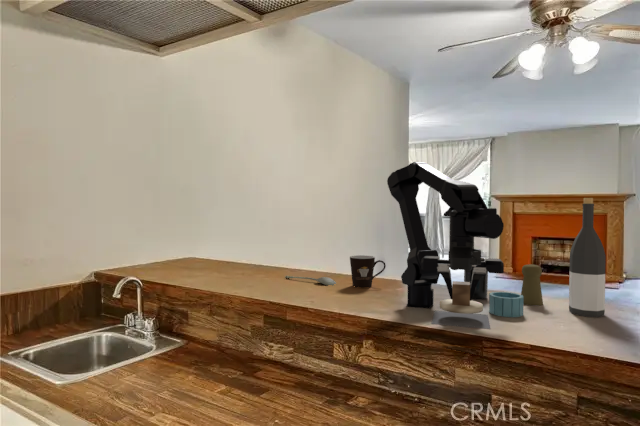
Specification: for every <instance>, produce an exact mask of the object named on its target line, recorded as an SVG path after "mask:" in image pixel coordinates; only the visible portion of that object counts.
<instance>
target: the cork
mask: <svg viewBox="0 0 640 426" xmlns="http://www.w3.org/2000/svg"><path fill="white" fill-rule="evenodd" d="M521 274H522V275H523V280H522V286H521V292H520V295H523V297H524V304H523V305H526V306H533V305H539V306H543V305H544V303H543V302H544V301H543V300H544V299H543V293H542V285H541V276H542V275H543V270H542V267H541V266H539V265H537V264H533V263H532V264H531V263H529V264H524V265H523V266H522V268H521Z"/></svg>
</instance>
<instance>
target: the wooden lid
mask: <svg viewBox="0 0 640 426" xmlns="http://www.w3.org/2000/svg"><path fill="white" fill-rule="evenodd" d="M483 306H484V305H483V303H481V302H479V301H476V300H473V299H472V300H471V301H470V282H464V281H458V280H457V281H455V280H453V281H452V299H451V298H446V299H442V300H439V309H441V311H446V312H453V313H463V314H480V313H482V312H483V311H484V307H483Z"/></svg>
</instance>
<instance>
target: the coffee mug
mask: <svg viewBox="0 0 640 426" xmlns="http://www.w3.org/2000/svg"><path fill="white" fill-rule="evenodd" d="M375 260H376V256H373V255H364V254H363V255H359V254H358V255H351V256H349V262H350V264H349V265H350V272H351V281H352V287H353V286H355V287H354V288H357V287H369V288H372V284H373V279H374V278H376V277H377V276H379V275H380V274H382V273H383V272H384V270H385V269H386V262H385V261H383V260H380V259H379V260H378V259H377V260H376V261H375ZM378 263H382V264H383V268H382V269H381V270H380V271H379V272H377V273H376V274H375V275H374V268H375V266H376V265H377V264H378Z"/></svg>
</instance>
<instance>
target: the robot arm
mask: <svg viewBox="0 0 640 426" xmlns="http://www.w3.org/2000/svg"><path fill="white" fill-rule="evenodd" d="M386 182H387V188H388V189H389V192H390V195H391V196H392V197H393V199H395V200H396V202H397V203H398V205H399V208H400V209H399V210H400V213H401V218H402V223H403V227H404V230H405V234H406V238H407V243H408V247H409V252H408V256H407V259H406V264H407V267H406V269H405V270H404V271H403V273H402V274H401V276H400V277H401V278H400V279H401V283H402V284H403V285H407V303H406V307H408V308H420V309H432V306H434V304H435V303H434V302H435V301H434V300H435V299H434V298H435V296H434V295H435V294H434V293H435V292H434V291H435V290H434V288H432V287H433V285H437V284H438V282H439V277H440V275H441V276H442V279H443V280H444V283H445V286H446V288H447V291H448V294H449V299H452V284H453V281H452V274H451V270H452V271H458V270H461V271H464V270H466V271H470V270H472V269H474V270H473V274H472V281H471V288H470V301H471V300H472V301H473V299H472V297H473V295H474V292H475V289H476V286H477V284H478V282H479V280H480V278H481V277H482V276H486V271H488V274H504V273H505V272H504V270H505V267H504V266H505V265H504V262H503V260H502V259H501V258H488V257H485V258H484V259H485V261H481V258H482V249H481V248H475V238H480V239H481V238H483V239H492V240H495V239H498V238H499V237H500V236H501V235H502V233H503V231H504V227H505V226H504V222H503V219H502V217H501V216H500V215H499V214H498V213H497V211H498V210H497V208H495V207H494V208H493V207H492V208H489V207H488V206H487V204H486V203H485V201H484V199H483V198H482V196H481V193H480V192H479V188H478V186H477V185H475V184H473V183H470V182H466V181H461V180H456V179H453V178H451V177H449V176H448V175H446V174H444V173H442V172H441V171H440V170H438V169H436V168H435V167H433V166H431V165H430V164H429V163H427V162H423V161H422V162H421V161H414V162H411V163H409V164H408V165H407V166H404V167H401V168H399V169H396V170H394V171H392V172H391V173H390V174H389V176H388V177H387V180H386ZM422 184H425V185H427V186H429V187H430V188H431V189H432V190H435V191H436V192H437V193H439V194H440V199H441V200H442V201H443V202H444V203H445V204H446V205H447V206H448V207H449V208H448V209H447V210H446V211H445V212H444V213H443V216H444V217H449V234H448V235H449V236H448V237H449V242H448V243H449V247H448V249H449V250H448V259H440V255H439V252H438V250H437V249H431V247H429V244H428V241H427V237H426V232H425V230H424V225H423V222H422V217H421V213H420V211H419V210H420V209H419V206H418V202H417V196H418V194H419V190H420V185H422Z"/></svg>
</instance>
